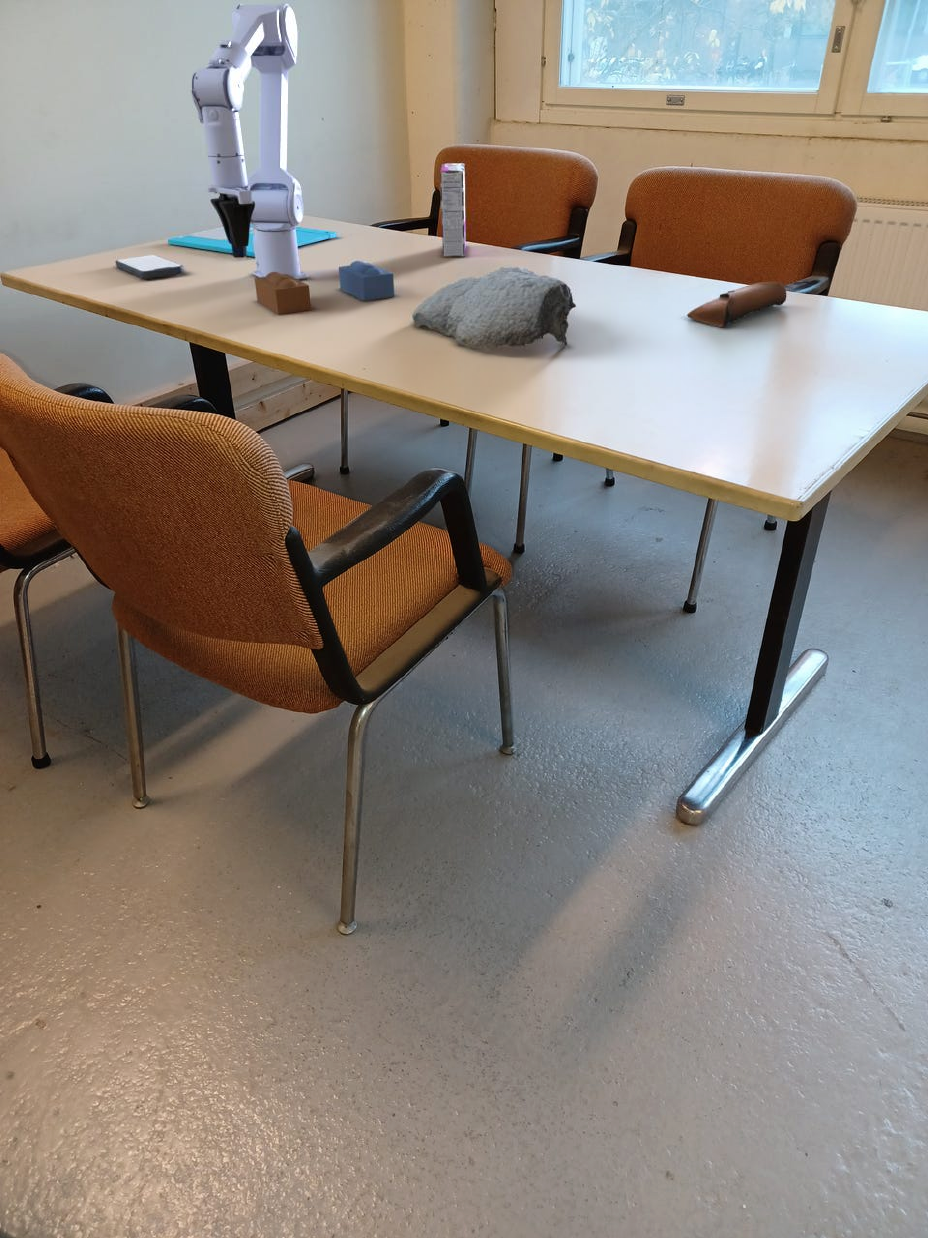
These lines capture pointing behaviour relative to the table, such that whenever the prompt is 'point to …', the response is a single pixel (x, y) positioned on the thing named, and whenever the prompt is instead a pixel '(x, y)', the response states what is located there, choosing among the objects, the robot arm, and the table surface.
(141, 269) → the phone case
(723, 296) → the sunglasses case
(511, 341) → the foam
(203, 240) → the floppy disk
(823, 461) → the table surface
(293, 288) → the brown lumpy block
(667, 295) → the table surface
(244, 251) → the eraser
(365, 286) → the blue rectangular block
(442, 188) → the candy bar box
